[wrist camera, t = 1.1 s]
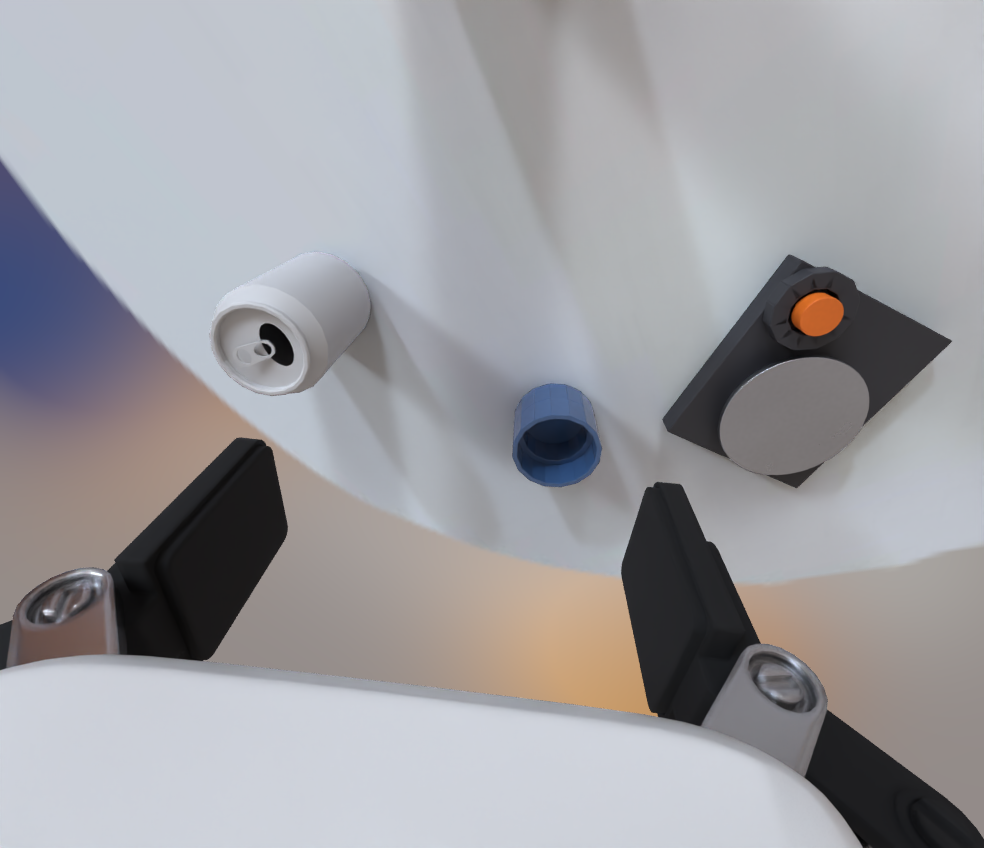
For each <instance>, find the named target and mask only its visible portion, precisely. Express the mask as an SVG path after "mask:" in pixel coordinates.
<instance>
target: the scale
mask: <svg viewBox="0 0 984 848" xmlns="http://www.w3.org/2000/svg"><path fill="white" fill-rule="evenodd" d="M816 292H822V293H826V294H828V295H830V296H832V297H834V298H836V299H837V300H839V301H840V302H841V303H842V305H843V308H844V314H843V317H842V320H841V322H840V323H839V324H838V326H837V327H836V328H834V329H833V330H832V331H830V332H829V333H827V334H824V335H821V336H809V335H806V334H805V333H803V332H802V331H801V330H799V329H798V328H796V327H795V326H794V324H793V323H792V319H791V314H792V310H793V308H794V307H795V305H796V304H797V303H798V301H799V300H801V299H802V298H803V297H805V296H807V295H809V294H811V293H816ZM951 342H952V341H951V340H950V339H948V338H946V337H944V336H942V335H940V334H938V333H937V332H935V331H933V330H931V329H929V328H927V327H925V326H924V325H922V324H920V323H918V322H916V321H914V320H912V319H911V318H909V317H907V316H905V315H903V314H901V313H899V312H898V311H896V310H894V309H892V308H890V307H888V306H886V305H885V304H883V303H881V302H879V301H877V300H875V299H873V298H871V297H870V296H868V295H866V294H864V293H862V292H860V291H858V290H857V288H856V285H855V282H854V281H853V280H852V279H850V278H848V277H847V276H845V275H843V274H841V273H839V272H837V271H835V270H833V269H831V268H828V267H817V268H816V267H814V266H812V265H810V264H808V263H806V262H805V261H803V260H800V259H798V258H796V257H794V256H792V255H788V256H787V257H786V259H785V260H784V261H783V263H782V264H781V265H780V266H779V268H778V269H777V270H776V272H775V273H774V274H773V276H772V277H771V278H770V280H769V281H768V282H767V283H766V285H765V286H764V287H763V289H762V290H761V291H760V293H759V294H758V295H757V296H756V298H755V299H754V300H753V302H752V303H751V304H750V306H749V307H748V308H747V310H746V311H745V312H744V313H743V315H742V316H741V317H740V319H739V320H738V321H737V323H736V324H735V325H734V326H733V328H732V329H731V330H730V332H729V333H728V334H727V336H726V337H725V338H724V339H723V341H722V342H721V343H720V345H719V346H718V347H717V349H716V350H715V351H714V353H713V354H712V355H711V356H710V358H709V359H708V360H707V362H706V363H705V364H704V366H703V367H702V368H701V369H700V371H699V372H698V373H697V375H696V376H695V377H694V379H693V380H692V381H691V383H690V384H689V385H688V386H687V388H686V389H685V390H684V392H683V393H682V394H681V396H680V397H679V398H678V399H677V401H676V402H675V403H674V405H673V406H672V407H671V409H670V410H669V411H668V413H667V414H666V415H665V416H664V418H663V419H662V420H663V422H664V424H665V426H666V429H667V431H668V432H670V433H672V434H675V435H677V436H679V437H681V438H684V439H686V440H688V441H691V442H693V443H695V444H697V445H700V446H702V447H704V448H706V449H709V450H711V451H713V452H715V453H718V454H720V455H722V456H725V457H727V458H729V457H728V456H727V454H726V453H725V451H724V450H723V448H722V446H721V444H720V440H719V437H718V422H719V418H720V414H721V411H722V409H723V406H724V405H725V403H726V401H727V399H728V398H729V397H730V395H731V394H732V392H733V391H734V390H735V389H736V388H737V387H738V386H739V385H740V384H741V383H742V382H743V381H744V380H745V379H747V378H748V377H749V376H751V375H752V374H754V373H755V372H756V371H758V370H760V369H762V368H764V367H765V366H768V365H770V364H772V363H774V362H777V361H780V360H783V359H786V358H791V357H795V356H803V355H820V356H827V357H831V358H835V359H838V360H840V361H842V362H844V363H846V364H848V365H849V366H851V367H852V368H853V369H855V370H856V371H857V372H858V373H859V374H860V375H861V377H862V378H863V379H864V381H865V383H866V385H867V388H868V392H869V410H868V413H867V417H866V419H865V421H864V424H865V423H866V422H867V421H868V420H869V419H870V418H872V417H873V416H874V415H875V414H876V413H877V412H878V411H879V410H880V409H881V408H882V407H883V406H884V405H885V404H886V403H887V402H888V401H890V400H891V399H892V398H893V397H894V396H895V395H896V394H897V393H898V392H899V391H900V390H901V389H902V388H903V387H904V386H905V385H906V384H908V383H909V382H910V381H911V380H912V379H913V378H914V377H915V376H916V375H917V374H918V373H919V372H920V371H921V370H922V369H923V368H925V367H926V366H927V365H928V364H929V363H930V362H931V361H932V360H933V359H934V358H935V357H936V356H937V355H938V354H939V353H940V352H941V351H943V350H944V349H945V348H946V347H947V346H948V345H949V344H950V343H951ZM864 424H863V425H864ZM729 459H730V458H729ZM823 463H824V462H823ZM823 463H821V464H819V465H817V466H815V467H812V468H810V469H807V470H804V471H800V472H796V473H791V474H784V475H768V476H770V477H772V478H774V479H777V480H779V481H781V482H783V483H786V484H788V485H790V486H792V487H795V488H797V487H798V486H799V485H801V484H802V483H803V482H804V481H805V480H806V479H807V478H808V477H809V476H810V475H811V474H812V473H813V472H814V471H815V470H816V469H817V468H819V467H820V466H821V465H822V464H823Z"/></svg>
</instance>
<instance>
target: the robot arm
mask: <svg viewBox="0 0 984 848" xmlns="http://www.w3.org/2000/svg"><path fill="white" fill-rule="evenodd" d="M287 530H288V526H287V520H286V515H285V510H284V506H283V501H282V495H281V490H280V486H279V481H278V476H277V471H276V466H275V461H274V456H273V451H272V449H271V448H270V447H269V446H266V444H265V442H264V441H262V440H258V439H249V438H236V439H235V440H234V441H233V442H232V443H231V444H230V445H229V446H228V447H227V448H226V449H225V450H224V451H223V452H222V453H221V454H220V455H219V456H218V457H217V458H216V459H215V460H214V461H213V462H212V463H211V464H210V465H209V466H208V467H207V468H206V469H205V470H204V471H203V472H202V473H201V474H200V475H199V476H198V477H197V478H196V479H195V480H194V481H193V482H192V483H191V484H190V485H189V486H188V487H187V488H186V489H185V490H184V491H183V492H182V493H181V494H180V495H179V496H178V497H177V498H176V499H175V500H174V501H173V502H172V503H171V504H170V505H169V506H168V507H167V508H166V509H165V510H164V511H163V512H162V513H161V514H160V515H159V516H158V517H157V518H156V519H155V520H154V521H153V522H152V523H151V524H150V525H149V526H148V527H147V528H146V529H145V530H144V531H143V532H142V533H141V534H140V535H139V536H138V537H137V538H136V539H135V540H134V541H133V542H132V543H131V544H130V545H129V546H128V547H127V548H126V549H125V550H124V551H123V552H122V553H121V554H120V555H119V556H118V557H117V558H116V559H115V562H116V563H115V564H114V565H113V566H112V567H111V568H110V569H109V570H108V571H105V570H104V569H99V568H80V569H75V570H71V571H67V572H65V573H62V574H59V575H57V576H54V577H52V578H50V579H48V580H47V581H45V582H43V583H42V584H40V585H38V586H37V587H36V588H34V589H33V590H32V591H30V592H29V593H28V594H27V595H26V596H25V597H24V598H23V599H22V600H21V602H20V603H19V604H18V605H17V607H16V610H15V612H14V615H13V620H11V621H9V622H6V623H4V624H1V625H0V848H984V839H983V837H982V836H981V834H980V833H979V831H978V830H977V828H976V827H975V826H974V825H973V824H972V823H971V822H970V820H969V819H968V818H967V817H966V816H965V815H964V814H963V813H962V812H961V811H960V810H959V809H958V808H957V807H956V806H955V805H953V804H952V803H951V802H950V801H948V799H946V798H945V797H944V796H943V795H941V794H940V793H939V792H937V791H936V790H935V789H933V788H932V787H930V786H929V785H928V784H926V783H925V782H924V781H922V780H921V779H920V778H918V777H917V776H916V775H914V774H913V773H912V772H910V771H909V770H908V769H906V768H905V767H903V766H902V765H901V764H900V763H898V762H897V761H895V760H894V759H893V758H892V757H890V756H889V755H888V754H886V753H885V752H883V751H882V750H881V749H879V748H878V747H877V746H875V745H874V744H873V743H871V742H870V741H869V740H867V739H866V738H865V737H863V736H862V735H861V734H859V733H858V732H857V731H855V730H854V729H853V728H851V727H850V726H849V725H847V724H846V723H844V722H843V721H841V719H839V718H838V717H836V716H835V715H833V714H832V713H831V712H830V711H828V710H827V702H828V699H827V696H826V693H825V690H824V687H823V685H822V684H821V682H820V680H819V679H818V677H817V676H816V674H815V673H814V672H813V671H812V670H811V669H810V668H809V667H808V666H807V665H806V664H805V663H804V662H803V661H801V660H800V659H799V658H797V657H796V656H795V655H793V654H791V653H790V652H788V651H786V650H784V649H782V648H780V647H776V646H773V645H769V644H761V643H760V641H759V639H758V637H757V634H756V632H755V630H754V628H753V626H752V624H751V621H750V619H749V617H748V615H747V613H746V610H745V608H744V606H743V604H742V601H741V599H740V597H739V595H738V593H737V591H736V588H735V586H734V584H733V582H732V580H731V577H730V575H729V573H728V571H727V569H726V566H725V564H724V562H723V560H722V558H721V555H720V553H719V551H718V549H717V548H716V546H715V545H714V544H713V543H712V542H707V541H706V539H705V537H704V534H703V532H702V530H701V528H700V525H699V523H698V521H697V518H696V516H695V514H694V512H693V509H692V507H691V505H690V502H689V500H688V498H687V496H686V493H685V491H684V489H683V487H682V485H680V484H672V483H663V482H656V483H655V484H654V486H653V487H647V488H646V490H645V493H644V496H643V499H642V502H641V505H640V509H639V512H638V515H637V518H636V521H635V524H634V527H633V531H632V534H631V537H630V540H629V543H628V546H627V549H626V553H625V556H624V559H623V562H622V569H621V574H622V581H623V586H624V590H625V595H626V600H627V605H628V609H629V615H630V619H631V624H632V629H633V634H634V639H635V644H636V648H637V653H638V658H639V663H640V668H641V673H642V678H643V683H644V687H645V692H646V697H647V702H648V706H649V709H650V711H651V712H653V713H657V714H658V717H655V716H650V715H645V714H637V713H630V712H623V711H616V710H609V709H602V708H594V707H588V706H580V705H574V704H566V703H557V702H550V701H541V700H533V699H525V698H517V697H508V696H501V695H493V694H485V693H476V692H468V691H460V690H451V689H443V688H435V687H427V686H418V685H410V684H401V683H392V682H384V681H376V680H367V679H358V678H349V677H341V676H333V675H323V674H315V673H306V672H297V671H288V670H280V669H271V668H262V667H253V666H244V665H234V664H226V663H217V662H205V661H203V660H207V659H209V658H210V657H211V656H212V655H213V654H214V653H215V651H216V649H217V648H218V646H219V645H220V643H221V641H222V640H223V638H224V636H225V635H226V633H227V632H228V630H229V628H230V627H231V625H232V624H233V622H234V620H235V619H236V617H237V616H238V614H239V612H240V610H241V609H242V607H243V606H244V604H245V603H246V601H247V600H248V598H249V596H250V595H251V593H252V591H253V590H254V588H255V587H256V585H257V584H258V582H259V580H260V579H261V577H262V575H263V574H264V572H265V570H266V569H267V567H268V566H269V564H270V563H271V561H272V559H273V558H274V556H275V555H276V553H277V551H278V550H279V548H280V547H281V545H282V543H283V542H284V540H285V538H286V535H287Z"/></svg>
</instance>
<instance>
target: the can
mask: <svg viewBox="0 0 984 848" xmlns="http://www.w3.org/2000/svg"><path fill="white" fill-rule="evenodd" d="M370 304H371V301H370V297H369V294H368V290H367V287H366V285H365V283H364V282H363V280H362V278H361V277H360V275H359V273H358V272H357V271H356V270H354V269H353V268H352V267H351V266H350V265H349V264H348V263H347V262H346V261H344V260H342V259H340V258H338V257H336V256H334V255H332V254H328V253H323V252H318V251H316V252H309V253H303V254H301V255H299V256H297V257H295V258H293V259H291V260H289V261H287V262H285V263H284V264H282V265H280V266H278V267H276V268H274V269H272V270H270V271H268V272H266V273H264V274H262V275H260V276H258V277H257V278H255V279H253V280H251V281H249V282H247V283H245V284H243V285H241V286H239V287H237V288H236V289H234V290H232V291H230V292H229V293H227V294H225V295H224V296H223V298H222V299H221V301H220V302H219V303H218V305H217V306H216V308H215V313H214V318H213V320H212V323H211V328H210V333H209V337H210V343H211V349H212V351H213V354H214V356H215V358H216V360H217V362H218V364H219V365H220V366H221V367H222V369H223V370H224V371H225V372H226V373H227V375H228V376H229V377H231V378H232V379H233V380H234V381H236V382H237V383H238V384H240V385H241V386H242V387H245V388H247V389H249V390H251V391H253V392H256V393H259V394H264V395H270V396H276V395H286V394H289V393H299V392H302V391H304V390H306V389H308V388H310V387H313V386H314V385H315V384H316V383H317V382H318V381H319V379H320V378H321V377H322V376H323V375H324V374H325V373H326V372H327V371H328V369H329V368H330V367H331V366H332V365H333V364H334V362H335V361H336V360H337V359H338V358H339V357H340V355H341V354H342V353H343V352H344V351H345V350H346V349H347V347H348V346H349V345H350V344H351V343H352V342H353V340H354V339H355V338H356V337H357V336H358V335H359V334H360V332H361V331H362V330H363V329H364V328H365V326H366V324H367V321H368V319H369V316H370Z"/></svg>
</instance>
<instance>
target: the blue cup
mask: <svg viewBox="0 0 984 848" xmlns="http://www.w3.org/2000/svg"><path fill="white" fill-rule="evenodd" d="M601 451H602V446H601V441H600V437H599V432H598V428H597V424H596V419H595V415H594V411H593V408H592V405H591V402H590V401H589V400H588V399H587V397H586V396H585V395H584V394H583V393H582V392H581V391H579V390H577V389H575V388H572V387H570V386H568V385H565V384H547V385H543V386H540V387H537V388H534V389H532V390H531V391H530V392H529V393H527V394H526V395H525V396H523V397H522V399H521V400H520V402H519V404H518V406H517V408H516V409H515V419H514V436H513V453H512V457H513V460H514V462H515V464H516V466H517V469H518V470H519V471H520V472H521V473H522V474H523V475H524V476H525V477H526V478H527V479H528V480H530V481H532V482H535V483H537V484H540V485H542V486H549V487H564V486H568V485H572V484H576V483H578V482H580V481H581V480H583V479H585V478H586V477H588V476H589V475H590V474H591V473H592V472H593V471H594V469H595V468H596V466H597V465H598V464H599V462H600V457H601Z"/></svg>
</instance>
